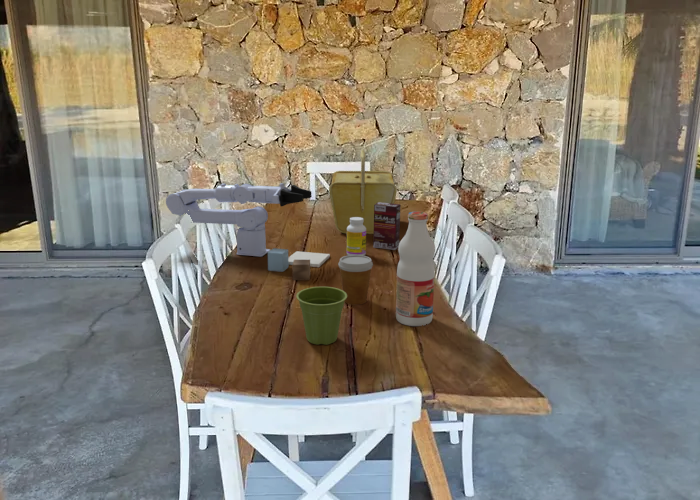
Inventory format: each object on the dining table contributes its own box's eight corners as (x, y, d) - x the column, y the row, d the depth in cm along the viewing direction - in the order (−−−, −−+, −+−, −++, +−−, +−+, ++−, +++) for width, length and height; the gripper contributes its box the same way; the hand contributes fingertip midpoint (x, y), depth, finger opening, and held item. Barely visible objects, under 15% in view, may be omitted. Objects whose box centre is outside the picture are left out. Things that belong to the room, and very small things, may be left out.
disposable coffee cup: (376, 297, 177) (377, 256, 174) (366, 309, 169) (366, 266, 165) (344, 293, 180) (344, 253, 177) (333, 304, 172) (333, 262, 168)
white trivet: (284, 264, 206) (283, 261, 206) (296, 254, 217) (296, 251, 217) (318, 267, 203) (318, 264, 203) (329, 256, 214) (329, 254, 214)
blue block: (268, 270, 200) (267, 252, 198) (274, 265, 205) (273, 248, 203) (282, 271, 199) (282, 253, 197) (288, 267, 203) (288, 249, 202)
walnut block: (292, 280, 191) (292, 264, 190) (294, 274, 196) (293, 259, 195) (309, 280, 191) (309, 264, 190) (310, 275, 196) (310, 259, 195)
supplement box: (372, 247, 226) (373, 204, 221) (377, 244, 230) (378, 201, 225) (395, 250, 223) (396, 206, 218) (399, 247, 227) (401, 203, 222)
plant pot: (288, 345, 146) (287, 300, 143) (309, 326, 157) (309, 283, 154) (335, 353, 142) (335, 307, 139) (354, 333, 153) (354, 290, 150)
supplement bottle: (363, 258, 213) (364, 221, 210) (344, 256, 215) (344, 220, 211) (367, 252, 220) (367, 216, 216) (348, 251, 221) (349, 215, 217)
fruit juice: (401, 310, 167) (405, 208, 160) (436, 316, 164) (441, 211, 156) (390, 323, 159) (393, 215, 151) (427, 329, 156) (432, 219, 148)
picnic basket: (395, 235, 242) (398, 157, 234) (328, 235, 242) (328, 157, 234) (392, 218, 270) (393, 147, 262) (331, 217, 270) (331, 147, 262)
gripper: (259, 185, 203) (298, 187, 199) (277, 179, 216) (314, 181, 213) (260, 207, 205) (299, 209, 201) (277, 200, 218) (314, 201, 214)
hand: (307, 196), depth 207 cm, fingers open, 7 cm apart
